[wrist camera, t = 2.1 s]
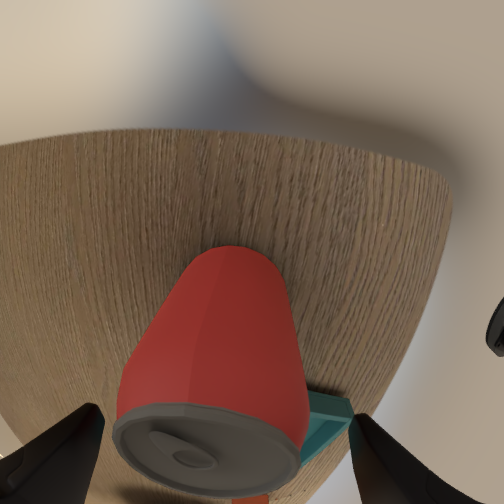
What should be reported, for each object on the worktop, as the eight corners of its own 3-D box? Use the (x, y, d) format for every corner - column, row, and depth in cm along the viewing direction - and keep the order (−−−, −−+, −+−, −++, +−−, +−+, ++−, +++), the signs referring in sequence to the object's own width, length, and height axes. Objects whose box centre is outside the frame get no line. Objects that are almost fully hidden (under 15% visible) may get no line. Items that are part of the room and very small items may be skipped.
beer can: (240, 219, 16) (204, 351, 5) (306, 301, 18) (357, 469, 6) (161, 283, 17) (63, 427, 6) (227, 351, 19) (204, 511, 7)
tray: (349, 398, 21) (356, 419, 19) (283, 462, 24) (285, 480, 22) (214, 362, 19) (210, 385, 17) (175, 437, 23) (171, 456, 21)
